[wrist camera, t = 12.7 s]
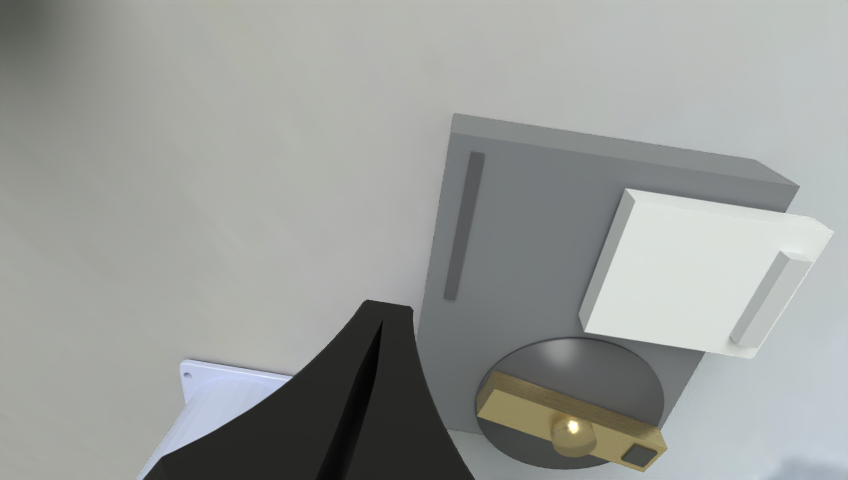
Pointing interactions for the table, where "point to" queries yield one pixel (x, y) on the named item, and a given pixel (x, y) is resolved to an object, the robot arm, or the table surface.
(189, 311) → the table surface
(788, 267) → the hatch cover
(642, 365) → the grey flat block
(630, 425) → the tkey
